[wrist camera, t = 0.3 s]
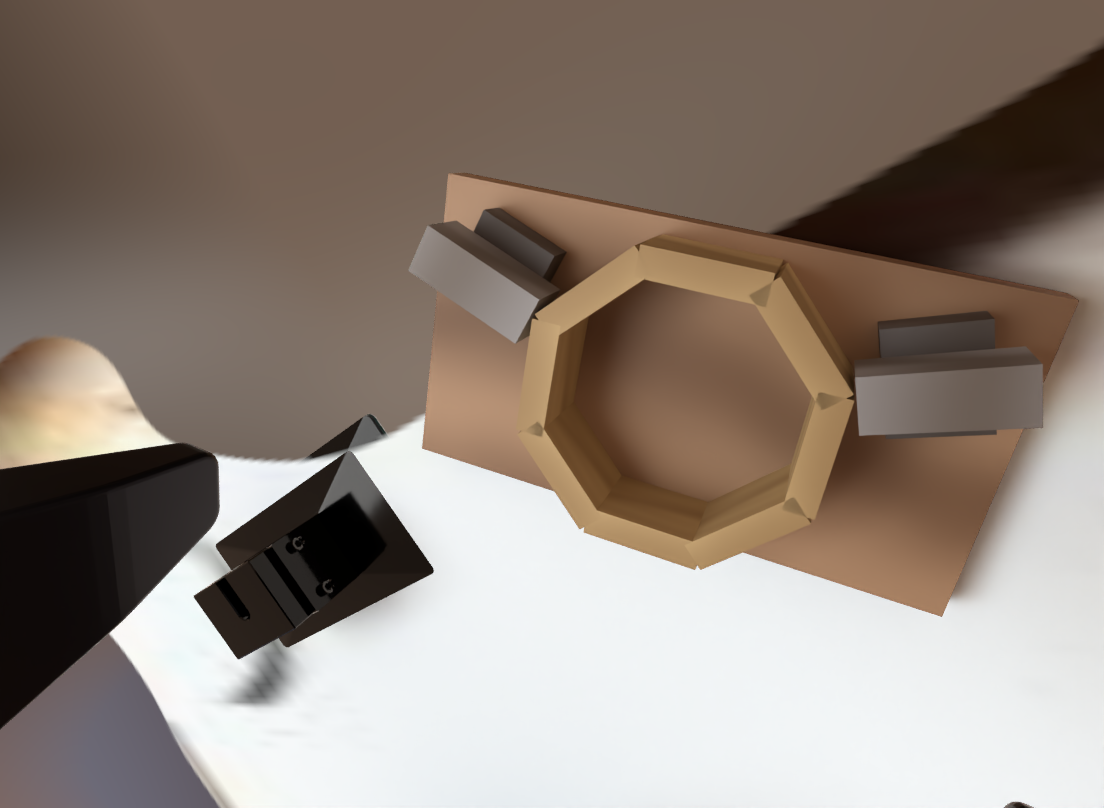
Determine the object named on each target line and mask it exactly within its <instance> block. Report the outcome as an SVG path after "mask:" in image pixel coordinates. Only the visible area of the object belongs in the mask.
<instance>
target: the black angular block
mask: <svg viewBox="0 0 1104 808" xmlns="http://www.w3.org/2000/svg"><path fill="white" fill-rule="evenodd" d="M388 436H389V435H388V434H387V432H386V431H385V430H384V428H383V427H382V425H381V424H380V422H379V421H378V419H377V418H376V416H375V415H373V414H367V415H365V416H364V417H362V418H361V419H359V420H358V421H356V422H355V423H354V424H352V425H351V426H350V427H348V428H347V429H345V430H344V431H343V432H341V433H340V434H338V435H337V436H336V437H334V438H333V439H331V440H330V441H329V442H327V443H326V444H324V445H323V446H322V447H320V448H319V449H317V450H316V451H315V452H313V453H312V454H310V455H309V456H308V457H306V458H305V459H303V460H302V461H310V460H315V459H321V458H327V457H334V456H339V455H341V456H340V457H339V458H337V459H336V460H334V461H333V462H332V463H330V464H329V465H327V466H326V467H324V468H323V469H322V470H320V471H319V472H317V473H316V474H315V475H313V476H312V477H310V478H309V479H307V480H306V481H305V482H303V483H302V484H300V485H299V486H298V487H296V488H295V489H293V490H292V491H291V492H289V493H288V494H286V495H285V496H283V497H282V498H281V499H279V500H278V501H276V502H275V503H274V504H272V505H271V506H269V507H268V508H266V509H265V510H264V511H262V512H261V513H259V514H258V515H257V516H255V517H254V518H252V519H251V520H250V521H248V522H247V523H245V524H244V525H242V526H241V527H240V528H238V529H237V530H235V531H234V532H233V533H231V534H230V535H228V536H227V537H225V538H224V539H223V540H221V541H220V542H218V543H217V544H216V548H217V550H218V551H219V553H220V554H221V556H222V557H223V558H224V560H225V561H226V563H227V564H228V566H229V567H230V569H231V571H230V572H228V573H227V574H225V575H224V576H222V577H221V578H219V579H218V580H216V581H215V582H213V583H212V584H210V585H209V586H208V587H206V588H205V589H203V590H202V591H200V592H199V593H197V594H196V595H194V598H195V600H196V601H197V602H198V604H199V605H200V607H201V608H202V609H203V611H204V612H205V614H206V615H207V616H208V618H209V619H210V621H211V622H212V623H213V625H214V626H215V628H216V629H217V631H218V632H219V633H220V635H221V636H222V638H223V639H224V640H225V642H226V643H227V645H228V646H229V647H230V649H231V650H232V652H233V653H234V655H235V656H236V657H237V659H241V658H243V657H244V656H246V655H248V654H250V653H252V652H254V651H255V650H257V649H259V648H261V647H263V646H265V645H267V644H268V643H270V642H272V641H274V640H276V639H278V638H279V639H280V641H281V642H282V644H283V645H284V646H285V647H290V646H292V645H294V644H296V643H297V642H299V641H301V640H303V639H305V638H307V637H309V636H311V635H313V634H315V633H317V632H319V631H321V630H323V629H325V628H327V627H329V626H331V625H333V624H335V623H337V622H339V621H340V620H342V619H344V618H346V617H348V616H350V615H352V614H354V613H356V612H358V611H360V610H362V609H364V608H366V607H368V606H370V605H372V604H374V603H376V602H378V601H380V600H382V599H384V598H385V597H387V596H389V595H391V594H393V593H395V592H397V591H399V590H401V589H403V588H405V587H407V586H409V585H411V584H413V583H415V582H417V581H419V580H421V579H423V578H425V577H427V576H428V575H430V574H432V573H433V571H434V570H433V567H432V566H431V564H430V563H429V561H428V560H427V559H426V557H425V556H424V554H423V553H422V551H421V550H420V549H419V547H418V546H417V544H416V543H415V541H414V540H413V539H412V537H411V536H410V534H409V533H408V531H407V530H406V529H405V527H404V526H403V524H402V523H401V521H400V520H399V519H398V517H397V516H396V514H395V513H394V511H393V510H392V509H391V507H390V506H389V504H388V503H387V501H386V500H385V498H384V497H383V496H382V494H381V493H380V491H379V490H378V488H377V487H376V486H375V484H374V483H373V481H372V480H371V478H370V477H369V476H368V474H367V473H366V471H365V470H364V468H363V467H362V466H361V464H360V463H359V461H358V460H357V458H356V457H355V456H354V454H353V453H352V452H353V451H356V450H358V449H361V448H363V447H365V446H368V445H370V444H372V443H375V442H378V441H380V440H383V439H385V438H387V437H388Z"/></svg>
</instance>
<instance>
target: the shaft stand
mask: <svg viewBox="0 0 1104 808" xmlns="http://www.w3.org/2000/svg"><path fill="white" fill-rule="evenodd" d="M408 271H409V272H411V273H412V274H414V275H415V276H417V277H418V278H420V279H421V280H423V281H424V282H426V283H427V284H429V285H430V286H431V287H433V288H434V289H436V290H437V299H436V310H435V320H434V321H435V322H434V331H433V342H432V352H431V362H430V372H429V383H428V395H427V404H426V414H425V425H424V435H423V446H422V449H426V450H429V451H432V452H435V453H438V454H441V455H444V456H447V457H450V458H453V459H456V460H460V461H463V462H466V463H469V464H472V465H475V466H478V467H481V468H484V469H487V470H490V471H493V472H497V473H500V474H503V475H506V476H509V477H512V478H515V479H518V480H521V481H524V482H527V483H531V484H534V485H537V486H540V487H543V488H546V489H549V490H552V491H555V493H556V494H557V496H558V497H559V499H560V500H561V502H562V503H563V505H564V506H565V508H566V509H567V511H568V512H569V514H570V516H571V517H572V519H573V520H574V522H575V523H576V525H577V526H578V528H579V529H581V528H583V527H585V528H584V533H587V534H590V535H593V536H596V537H599V538H602V539H605V540H608V541H611V542H614V543H617V544H620V545H623V546H626V547H629V548H632V549H635V550H637V551H640V552H643V553H646V554H649V555H652V556H655V557H658V558H661V559H664V560H667V561H670V562H673V563H676V564H679V565H682V566H685V567H688V568H691V569H694V570H695V569H696V566H697V565H698V567H699V568H700V570H701V569H704V568H706V567H708V566H711V565H713V564H716V563H718V562H721V561H723V560H725V559H728V558H730V557H733V556H735V555H737V554H740V553H742V552H743V553H747V554H750V555H753V556H756V557H759V558H762V559H765V560H768V561H771V562H774V563H777V564H781V565H784V566H787V567H790V568H793V569H796V570H799V571H802V572H805V573H808V574H811V575H814V576H818V577H821V578H824V579H827V580H830V581H833V582H836V583H839V584H842V585H845V586H848V587H852V588H855V589H858V590H861V591H864V592H867V593H870V594H873V595H876V596H879V597H882V598H885V599H889V600H892V601H895V602H898V603H901V604H904V605H907V606H910V607H913V608H916V609H919V610H923V611H926V612H929V613H932V614H935V615H938V616H941V617H942V615H943V613H944V611H945V609H946V606H947V604H948V602H949V599H950V597H951V595H952V592H953V590H954V588H955V586H956V583H957V581H958V579H959V576H960V574H961V572H962V569H963V567H964V565H965V562H966V560H967V558H968V556H969V553H970V551H971V549H972V546H973V544H974V542H975V539H976V537H977V535H978V533H979V530H980V528H981V526H982V523H983V521H984V519H985V516H986V514H987V512H988V509H989V507H990V505H991V503H992V500H993V498H994V496H995V493H996V491H997V489H998V486H999V484H1000V482H1001V480H1002V477H1003V475H1004V473H1005V470H1006V468H1007V466H1008V463H1009V461H1010V459H1011V456H1012V454H1013V452H1014V450H1015V447H1016V445H1017V443H1018V440H1019V438H1020V436H1021V433H1022V431H1023V429H1028V428H1043V383H1044V380H1045V378H1046V376H1047V374H1048V371H1049V369H1050V367H1051V364H1052V362H1053V360H1054V357H1055V355H1056V353H1057V350H1058V348H1059V346H1060V344H1061V341H1062V339H1063V337H1064V334H1065V332H1066V330H1067V327H1068V325H1069V323H1070V320H1071V318H1072V316H1073V314H1074V311H1075V309H1076V307H1077V304H1078V302H1079V300H1078V299H1076V298H1074V297H1073V296H1071V295H1069V294H1068V293H1064V292H1059V291H1054V290H1049V289H1044V288H1039V287H1034V286H1029V285H1024V284H1019V283H1014V282H1009V281H1004V280H999V279H994V278H989V277H984V276H979V275H974V274H969V273H964V272H959V271H954V270H949V269H943V268H938V267H933V266H928V265H923V264H918V263H913V262H908V261H903V260H898V259H893V258H888V257H883V256H878V255H873V254H868V253H863V252H858V251H853V250H848V249H843V248H838V247H833V246H828V245H823V244H818V243H813V242H808V241H803V240H798V239H793V238H788V237H783V236H778V235H773V234H768V233H763V232H758V231H753V230H748V229H743V228H738V227H733V226H728V225H723V224H718V223H713V222H708V221H703V220H698V219H693V218H688V217H683V216H678V215H673V214H668V213H663V212H657V211H653V210H648V209H643V208H638V207H633V206H628V205H623V204H618V203H613V202H608V201H603V200H598V199H593V198H588V197H583V196H578V195H573V194H568V193H563V192H558V191H553V190H548V189H543V188H538V187H533V186H528V185H523V184H518V183H512V182H508V181H503V180H498V179H493V178H488V177H483V176H478V175H473V174H468V173H449V175H448V185H447V196H446V205H445V216H444V223H438V224H432V225H428V226H427V229H426V231H425V233H424V235H423V238H422V240H421V242H420V245H419V247H418V249H417V251H416V254H415V256H414V259H413V261H412V263H411V265H410V268H409V270H408Z"/></svg>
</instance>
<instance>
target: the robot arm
mask: <svg viewBox="0 0 1104 808" xmlns="http://www.w3.org/2000/svg"><path fill="white" fill-rule="evenodd" d="M219 507H220V504H219V466H218V461H217V459H216V457H215V456H214V455H213V454H212V453H210V452H208V451H206V450H203V449H201V448H198V447H196V446H194V445H192V444H188V443H176V444H169V445H162V446H155V447H148V448H142V449H135V450H128V451H121V452H114V453H108V454H101V455H94V456H87V457H81V458H74V459H67V460H60V461H53V462H47V463H40V464H33V465H26V466H19V467H13V468H6V469H0V729H1V728H2V727H3V726H5V725H6V724H7V723H8V722H9V721H10V720H12V719H13V718H14V717H15V716H16V715H17V714H18V713H19V712H21V711H22V710H23V709H24V708H25V707H26V706H27V705H28V704H30V703H31V702H32V701H33V700H34V699H35V698H36V697H38V696H39V695H40V694H41V693H42V692H43V691H44V690H45V689H47V688H48V687H49V686H50V685H51V684H52V683H54V682H55V681H56V680H57V679H58V678H59V677H60V676H61V675H63V674H64V673H65V672H66V671H67V670H68V669H69V668H71V667H72V666H73V665H74V664H75V663H76V662H77V661H79V660H80V659H81V658H82V657H83V656H84V655H85V654H86V653H87V652H89V651H90V650H91V649H92V648H93V647H94V646H96V645H97V644H98V643H99V642H100V641H101V640H102V639H103V638H104V637H106V636H107V635H108V634H109V633H110V632H111V631H112V630H113V629H114V628H115V627H117V626H118V625H119V624H120V623H121V622H122V621H123V620H124V619H125V618H126V617H127V616H128V615H129V614H130V613H131V612H132V611H133V610H134V609H135V608H136V607H137V606H138V605H139V604H140V603H141V602H142V601H143V600H144V598H145V597H146V596H147V595H148V594H149V593H150V592H151V591H152V590H153V589H154V588H155V587H156V586H157V585H158V584H159V583H160V582H161V581H162V579H163V578H164V577H165V576H166V575H167V574H168V573H169V572H170V571H171V570H172V569H173V568H174V567H175V566H176V565H177V564H178V563H179V562H180V560H181V559H182V558H183V557H184V556H185V555H186V554H187V553H188V552H189V551H190V550H191V549H192V548H193V547H194V546H195V545H196V544H197V543H198V541H199V540H200V539H201V538H202V537H203V536H204V535H205V534H206V533H207V532H208V531H209V530H210V529H211V527H212V526H213V524H214V523H215V521H216V519H217V517H218V513H219ZM1004 808H1034V807H1031V806H1029V805H1027V804H1024V803H1022V802H1011V803H1009V804H1007V805H1006V806H1005V807H1004Z"/></svg>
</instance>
